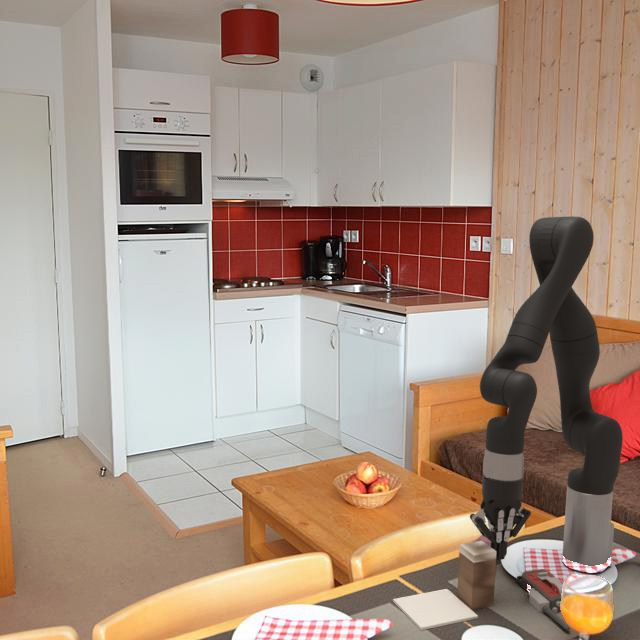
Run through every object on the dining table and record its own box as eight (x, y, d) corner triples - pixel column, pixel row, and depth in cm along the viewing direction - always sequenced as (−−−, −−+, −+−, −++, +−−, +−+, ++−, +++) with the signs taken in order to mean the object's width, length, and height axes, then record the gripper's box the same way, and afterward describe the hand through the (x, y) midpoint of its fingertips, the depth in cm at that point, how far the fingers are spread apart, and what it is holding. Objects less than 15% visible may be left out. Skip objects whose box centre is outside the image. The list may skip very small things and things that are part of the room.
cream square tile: (446, 591, 157) (446, 588, 157) (477, 618, 147) (477, 615, 147) (392, 601, 152) (392, 599, 152) (420, 630, 142) (421, 627, 142)
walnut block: (478, 593, 156) (481, 540, 155) (493, 605, 152) (496, 551, 150) (457, 597, 154) (459, 544, 153) (471, 610, 150) (474, 555, 148)
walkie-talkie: (506, 585, 161) (563, 637, 142) (507, 564, 160) (564, 614, 141) (544, 579, 163) (605, 630, 144) (545, 559, 163) (606, 607, 144)
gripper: (520, 462, 157) (514, 545, 159) (462, 469, 152) (458, 555, 154) (544, 475, 150) (538, 561, 152) (484, 482, 145) (479, 571, 148)
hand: (497, 558), depth 153 cm, fingers closed
